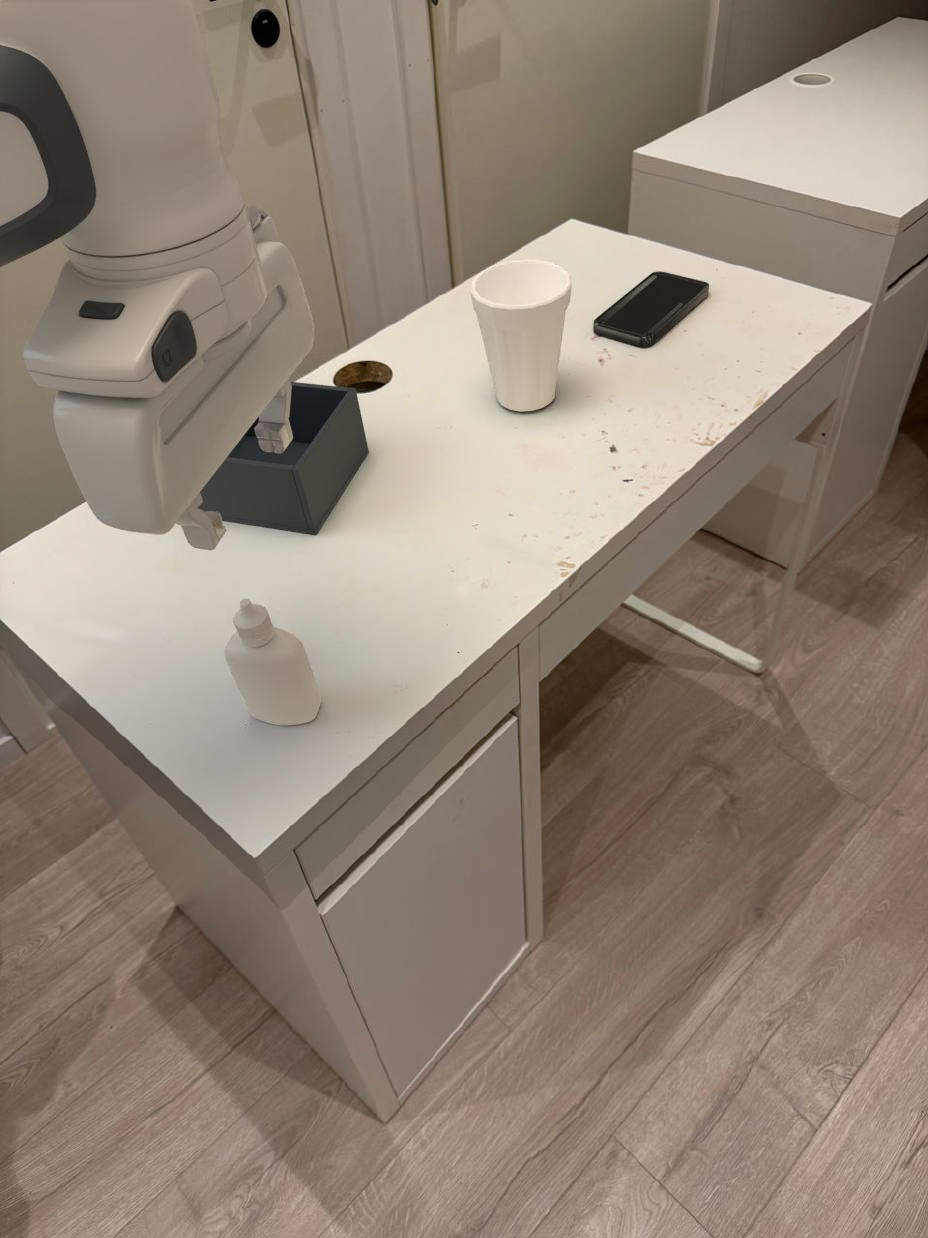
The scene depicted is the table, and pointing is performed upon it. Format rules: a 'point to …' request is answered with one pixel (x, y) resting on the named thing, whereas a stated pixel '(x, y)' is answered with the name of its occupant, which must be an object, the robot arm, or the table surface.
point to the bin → (293, 465)
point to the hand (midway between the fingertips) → (245, 491)
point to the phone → (651, 308)
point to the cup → (522, 328)
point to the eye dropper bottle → (271, 669)
